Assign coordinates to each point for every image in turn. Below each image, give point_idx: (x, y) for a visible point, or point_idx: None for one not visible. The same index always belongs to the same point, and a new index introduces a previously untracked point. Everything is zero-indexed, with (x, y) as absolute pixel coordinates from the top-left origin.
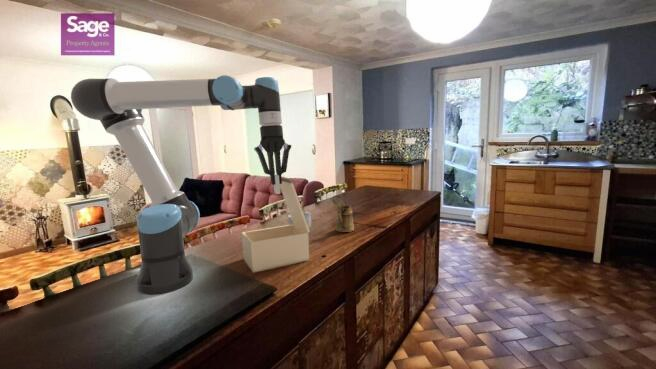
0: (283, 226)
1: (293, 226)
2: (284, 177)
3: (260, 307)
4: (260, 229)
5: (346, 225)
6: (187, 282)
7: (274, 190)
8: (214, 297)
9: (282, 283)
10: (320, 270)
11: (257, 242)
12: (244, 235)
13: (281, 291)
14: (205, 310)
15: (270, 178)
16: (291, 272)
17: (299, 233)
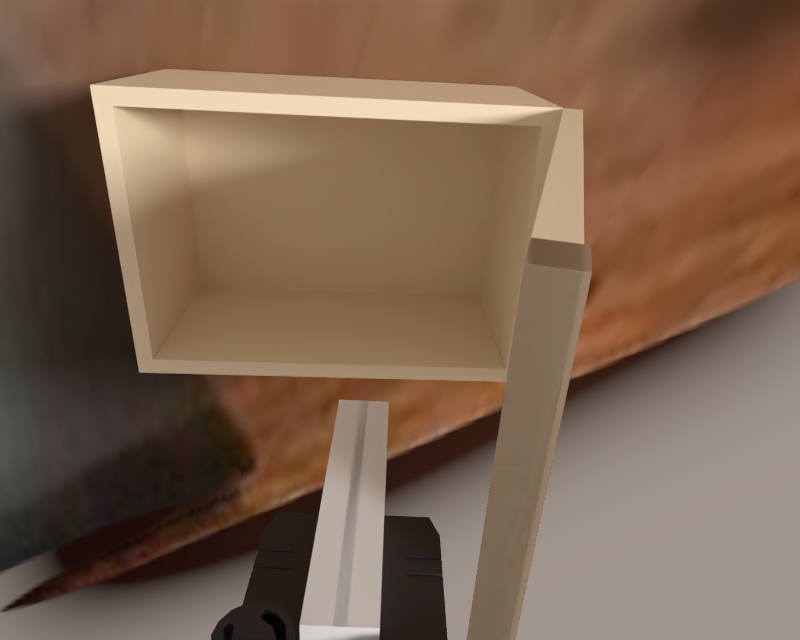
0: (459, 122)
1: (536, 151)
2: (511, 622)
3: (176, 535)
4: (257, 93)
5: None
6: None
7: (334, 432)
8: (25, 418)
9: (285, 441)
10: (467, 419)
11: (179, 372)
12: (108, 188)
13: (263, 487)
14: (4, 479)
15: (245, 598)
16: None
17: (512, 263)
